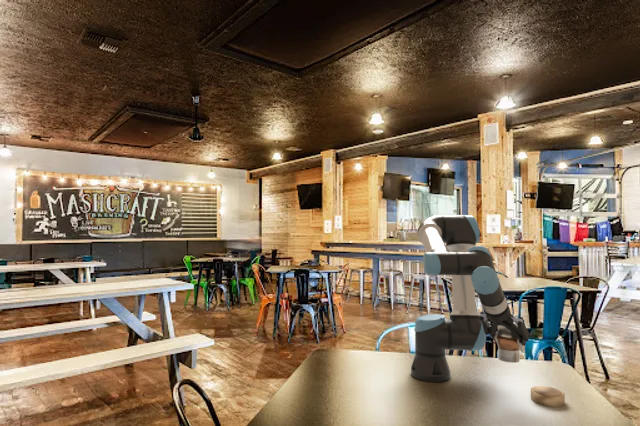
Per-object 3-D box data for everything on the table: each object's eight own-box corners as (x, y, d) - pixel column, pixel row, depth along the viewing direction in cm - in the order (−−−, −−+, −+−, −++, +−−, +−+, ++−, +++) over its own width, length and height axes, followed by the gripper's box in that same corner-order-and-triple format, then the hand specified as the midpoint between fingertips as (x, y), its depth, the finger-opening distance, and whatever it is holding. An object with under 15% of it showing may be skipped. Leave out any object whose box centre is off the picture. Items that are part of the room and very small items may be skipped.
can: (495, 359, 141) (494, 323, 142) (501, 355, 146) (501, 320, 147) (516, 363, 137) (515, 326, 138) (522, 359, 142) (521, 323, 143)
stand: (527, 401, 138) (527, 391, 139) (534, 392, 146) (534, 383, 146) (561, 409, 132) (561, 399, 132) (567, 399, 140) (567, 390, 140)
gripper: (462, 311, 137) (480, 351, 149) (526, 319, 124) (541, 362, 136) (468, 293, 142) (486, 333, 153) (530, 300, 129) (544, 342, 140)
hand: (511, 347), depth 144 cm, fingers closed on can, 7 cm apart
